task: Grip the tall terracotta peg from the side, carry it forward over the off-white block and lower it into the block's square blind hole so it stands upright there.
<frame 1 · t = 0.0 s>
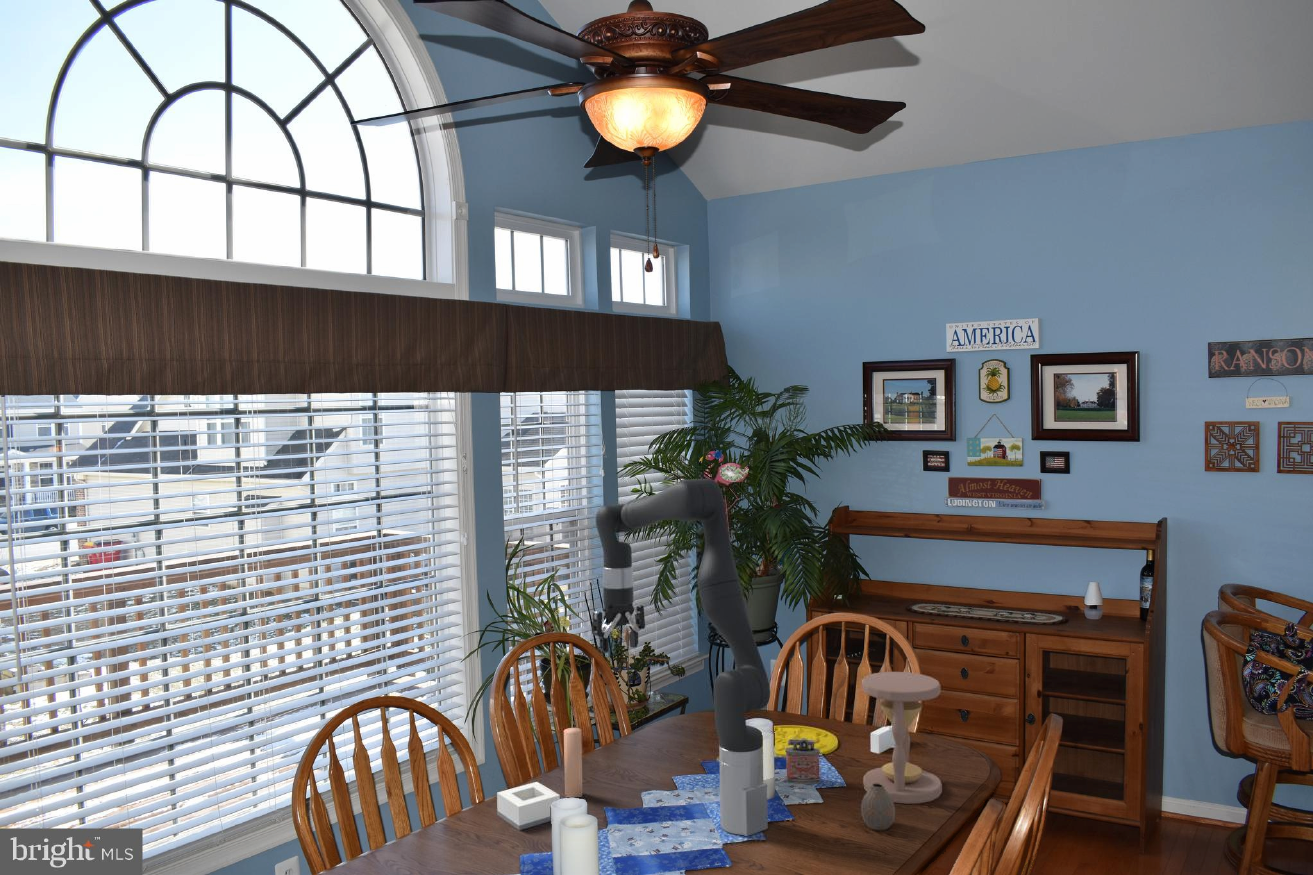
hand: (619, 649, 238), 29 cm above the table, tool pointing down, fingers open, 8 cm apart
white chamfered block: (890, 750, 249), on the table
vase: (878, 827, 201), on the table
soupspoon: (737, 778, 231), on the table
peg: (573, 795, 221), on the table
decorative medallion: (792, 744, 254), on the table
hourglass: (902, 789, 221), on the table
bore block: (528, 816, 209), on the table
lighter: (803, 781, 227), on the table
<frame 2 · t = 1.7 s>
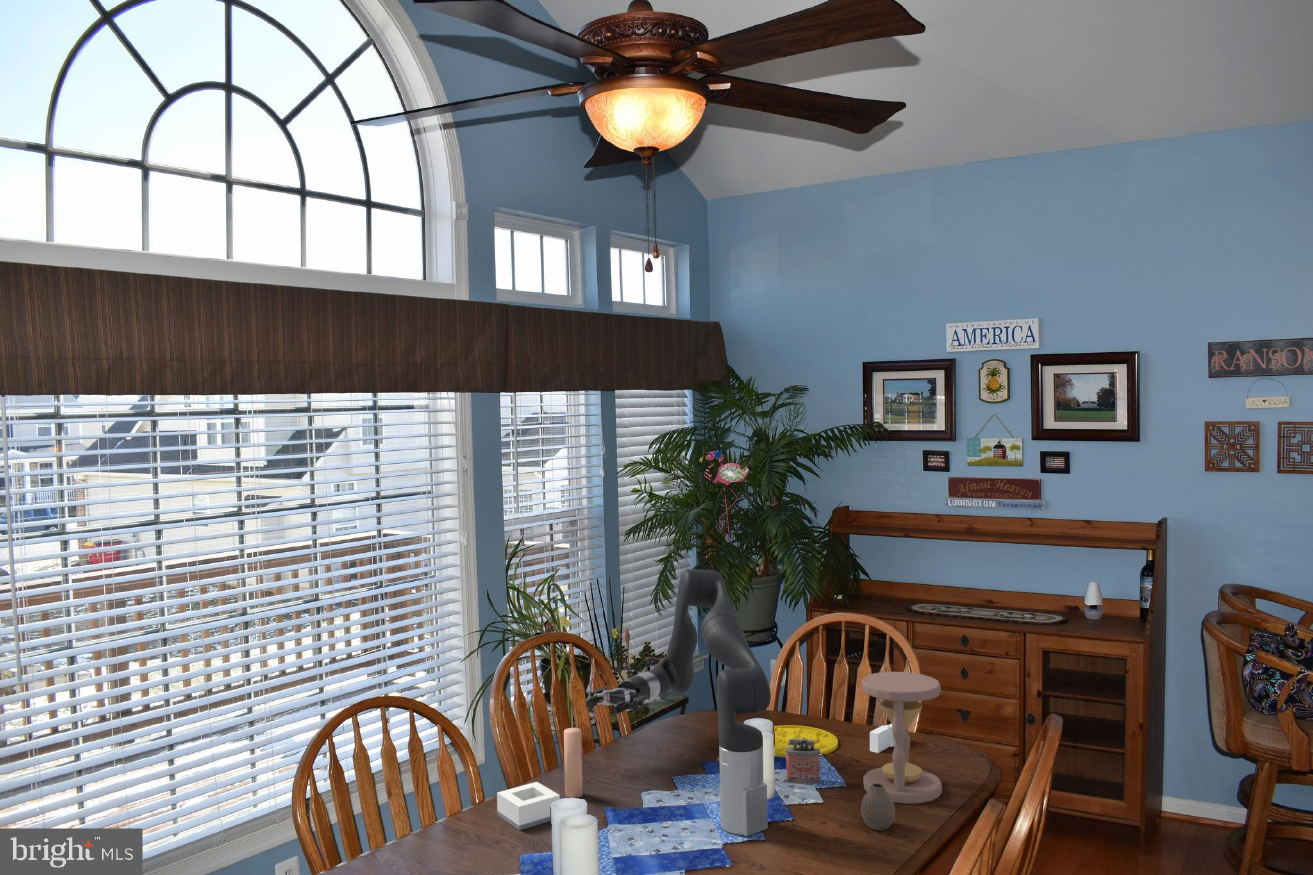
hand: (601, 706, 230), 18 cm above the table, tool horizontal, fingers open, 8 cm apart
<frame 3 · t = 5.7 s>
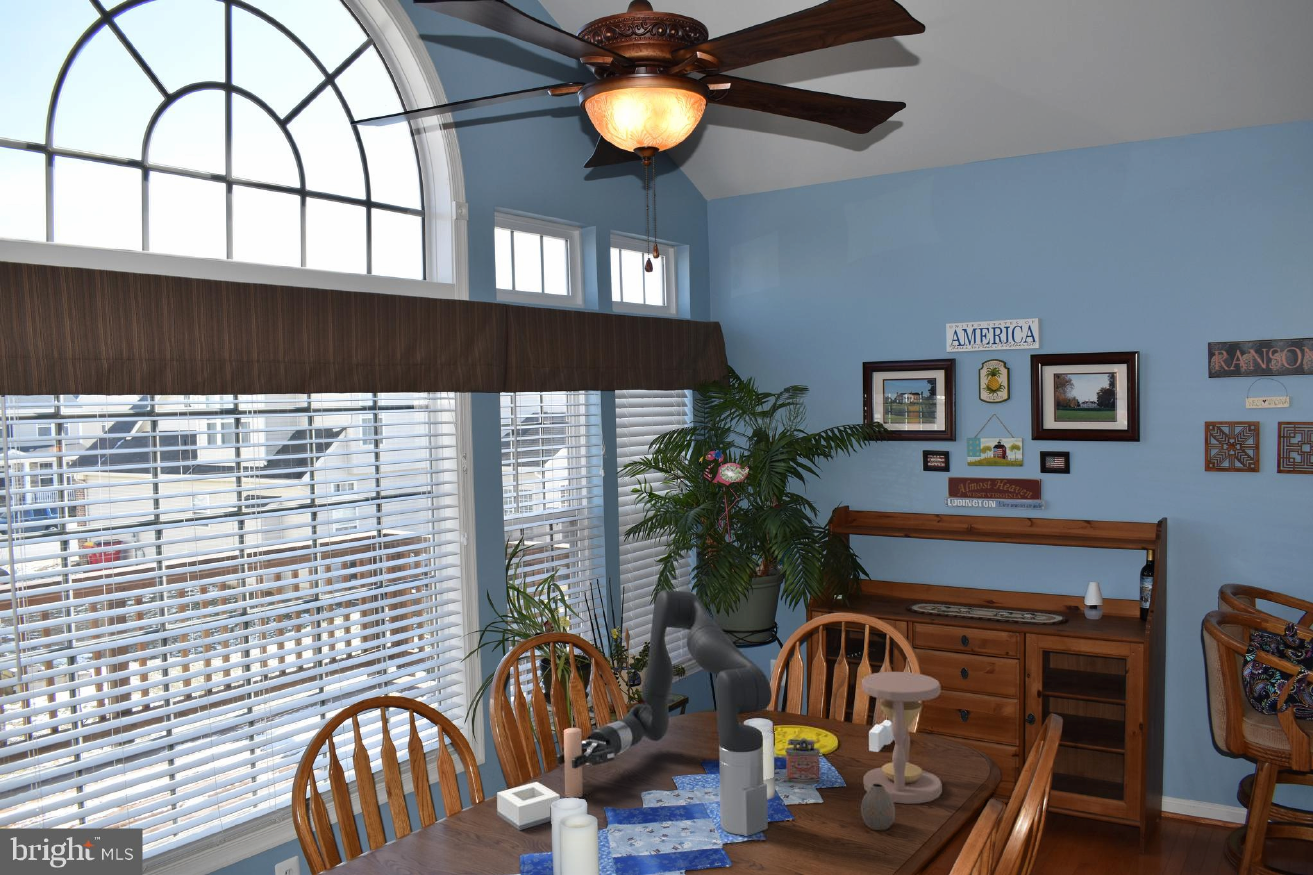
hand: (565, 762, 218), 9 cm above the table, tool horizontal, fingers closed on peg, 4 cm apart
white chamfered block: (884, 747, 251), on the table
soupspoon: (737, 776, 232), on the table
peg: (573, 795, 221), on the table, touching gripper
everything else where it was.
when the fingers open (11 cm above the table, at t = 11.2 s): peg drops 1 cm, resting on bore block.
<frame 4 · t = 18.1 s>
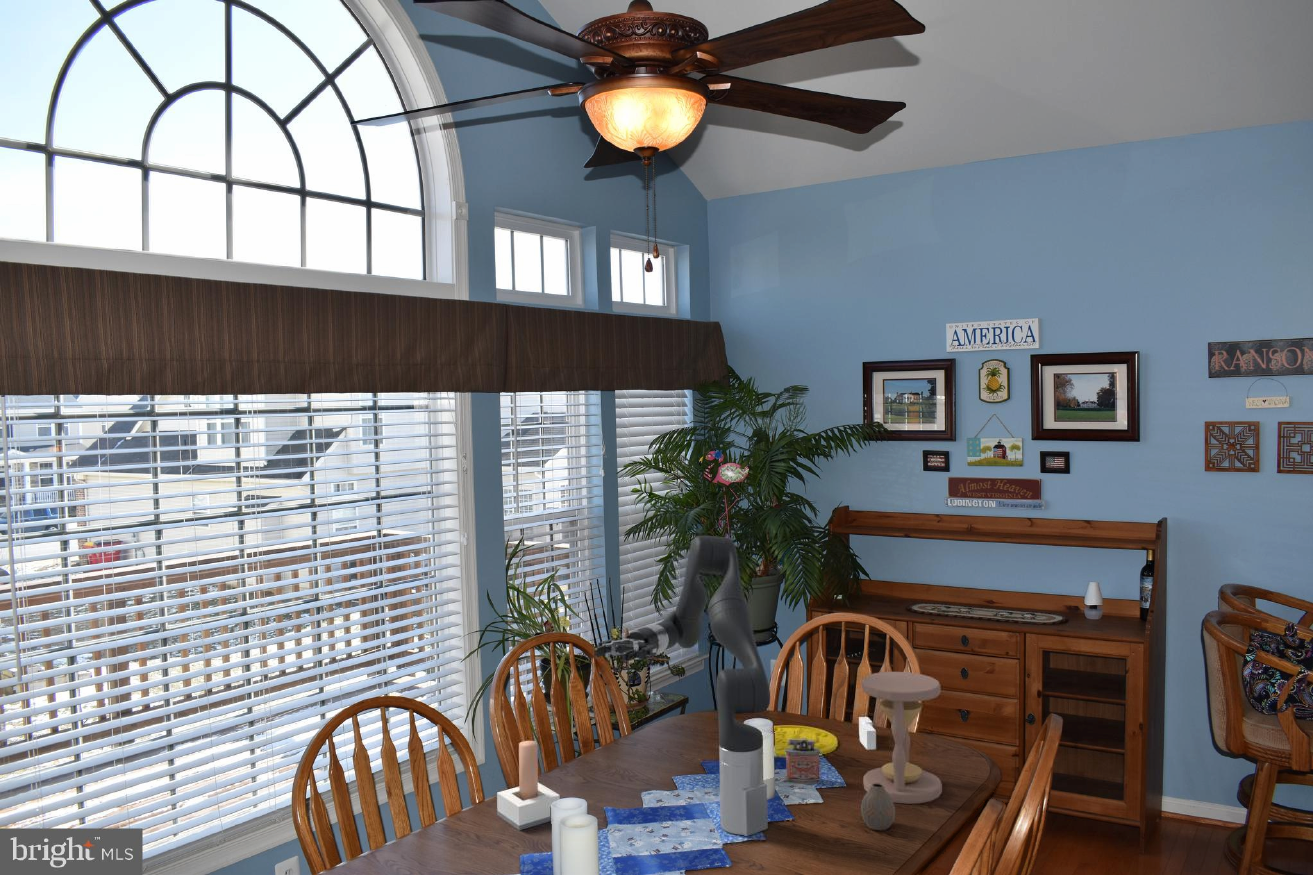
hand: (609, 655, 229), 30 cm above the table, tool horizontal, fingers open, 8 cm apart
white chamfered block: (869, 744, 254), on the table
soupspoon: (739, 771, 235), on the table
peg: (528, 811, 209), point 1 cm above the table, touching bore block
everything else where it was.
at the end: peg 0.1 cm off-centre on the bore block, point 1.0 cm above the bore block's base; peg tilted 1°; the gripper is holding nothing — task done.
